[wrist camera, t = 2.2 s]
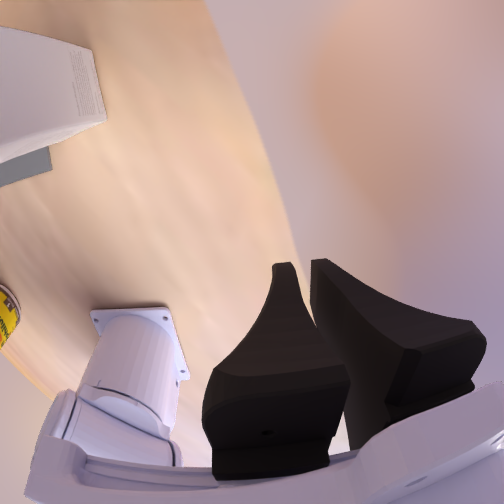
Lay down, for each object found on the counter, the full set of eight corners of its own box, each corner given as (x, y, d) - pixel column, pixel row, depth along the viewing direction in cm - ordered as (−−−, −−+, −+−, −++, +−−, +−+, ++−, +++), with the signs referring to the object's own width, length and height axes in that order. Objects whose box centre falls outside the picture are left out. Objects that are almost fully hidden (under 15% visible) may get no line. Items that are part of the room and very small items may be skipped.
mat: (52, 169, 18) (50, 170, 18) (-10, 190, 18) (-12, 191, 18) (40, 63, 14) (38, 63, 14) (-23, 100, 14) (-25, 100, 14)
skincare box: (48, 74, 15) (-73, 76, 4) (96, 47, 15) (-20, 15, 4) (65, 144, 18) (-55, 192, 7) (114, 121, 17) (-5, 148, 7)
